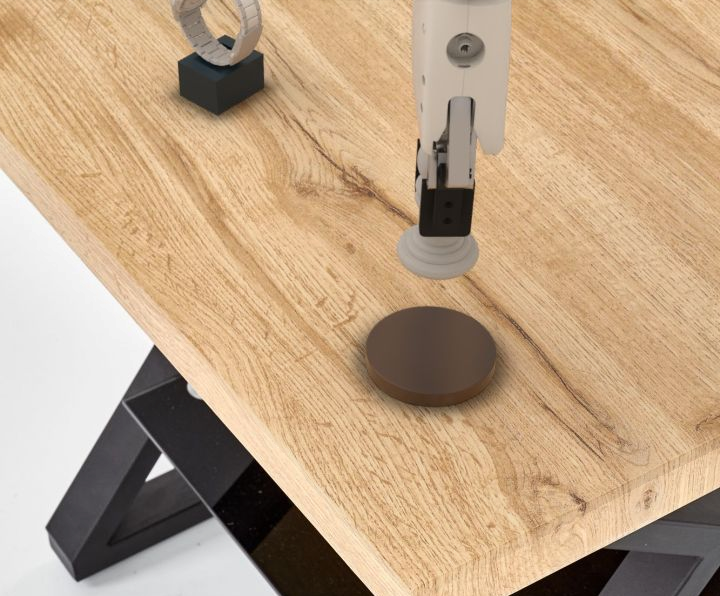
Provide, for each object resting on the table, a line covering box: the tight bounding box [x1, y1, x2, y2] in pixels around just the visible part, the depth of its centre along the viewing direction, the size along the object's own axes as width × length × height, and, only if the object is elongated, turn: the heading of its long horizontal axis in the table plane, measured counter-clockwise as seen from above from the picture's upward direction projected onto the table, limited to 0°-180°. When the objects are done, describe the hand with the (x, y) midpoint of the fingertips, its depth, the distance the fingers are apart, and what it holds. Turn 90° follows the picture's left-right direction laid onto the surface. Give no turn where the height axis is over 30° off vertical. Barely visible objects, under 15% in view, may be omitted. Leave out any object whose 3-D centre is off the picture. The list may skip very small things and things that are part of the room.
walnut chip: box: [364, 305, 498, 408], centre depth 108 cm, size 9×9×1 cm
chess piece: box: [396, 134, 480, 281], centre depth 99 cm, size 5×5×9 cm
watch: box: [167, 0, 265, 116], centre depth 126 cm, size 6×8×11 cm
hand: (441, 211), depth 99 cm, fingers closed on chess piece, 3 cm apart
